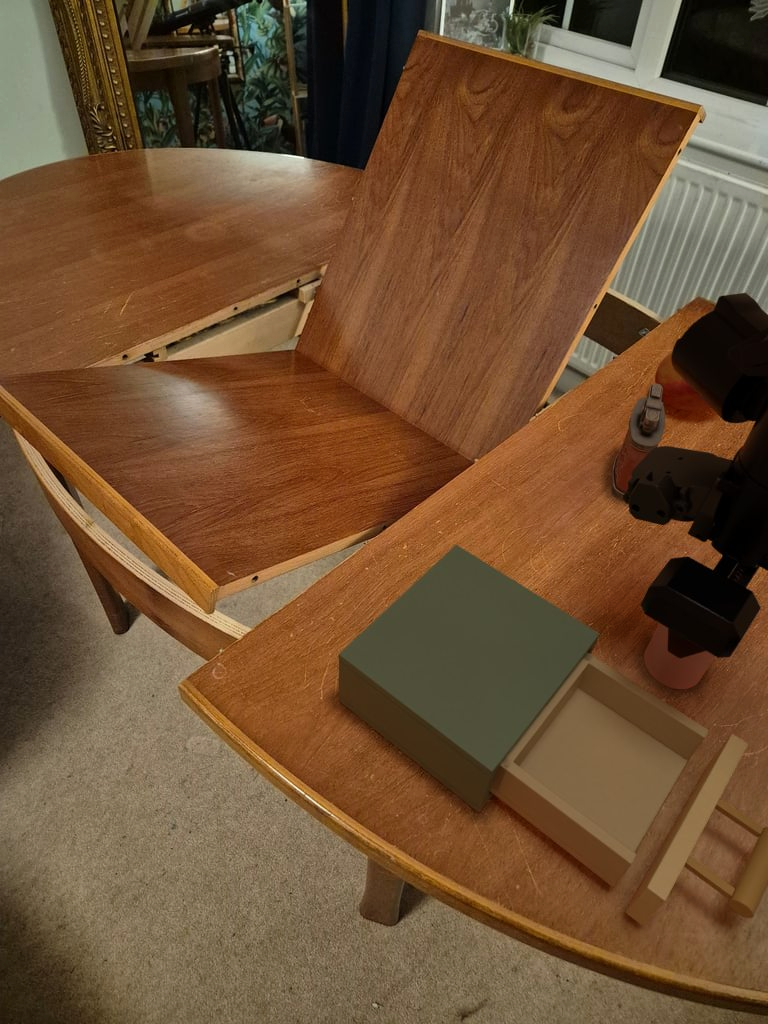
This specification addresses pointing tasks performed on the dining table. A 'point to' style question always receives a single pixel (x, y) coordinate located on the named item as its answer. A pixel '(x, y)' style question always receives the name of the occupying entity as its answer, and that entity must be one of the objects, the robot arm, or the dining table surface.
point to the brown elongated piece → (639, 438)
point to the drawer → (624, 785)
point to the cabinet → (461, 670)
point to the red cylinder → (674, 663)
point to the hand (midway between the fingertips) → (699, 616)
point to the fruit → (677, 389)
